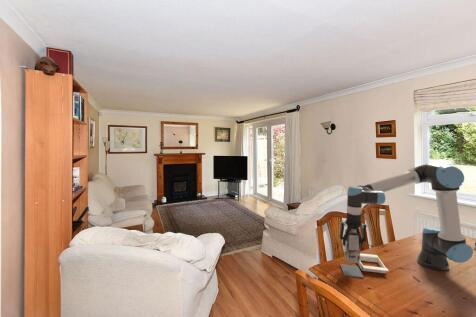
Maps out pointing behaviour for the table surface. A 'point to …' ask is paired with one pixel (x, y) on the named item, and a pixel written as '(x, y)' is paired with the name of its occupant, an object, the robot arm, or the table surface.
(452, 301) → the table surface
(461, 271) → the table surface
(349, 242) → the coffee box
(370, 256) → the white flat frame piece
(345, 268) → the plate
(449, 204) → the robot arm
